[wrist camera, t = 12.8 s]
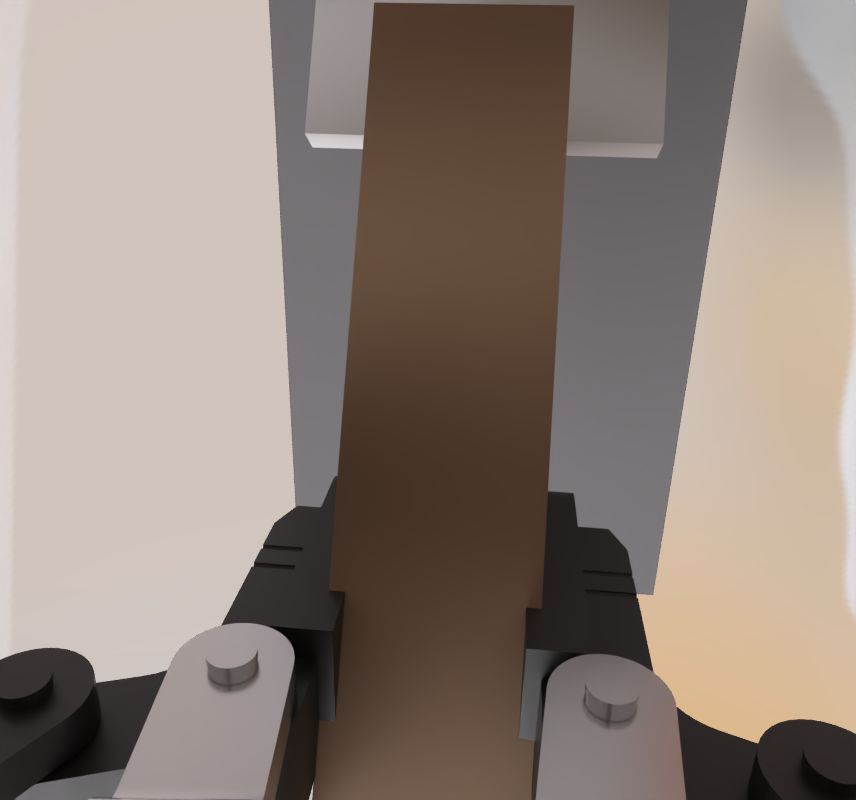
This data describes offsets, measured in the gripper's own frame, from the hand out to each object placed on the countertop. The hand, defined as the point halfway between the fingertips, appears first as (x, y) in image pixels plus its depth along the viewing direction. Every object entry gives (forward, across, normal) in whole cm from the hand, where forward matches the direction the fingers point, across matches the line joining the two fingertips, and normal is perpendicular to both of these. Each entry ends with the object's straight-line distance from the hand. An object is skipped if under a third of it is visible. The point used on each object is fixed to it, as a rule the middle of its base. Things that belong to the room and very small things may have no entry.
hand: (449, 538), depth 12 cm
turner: (+3, 0, -3) cm, 5 cm away
